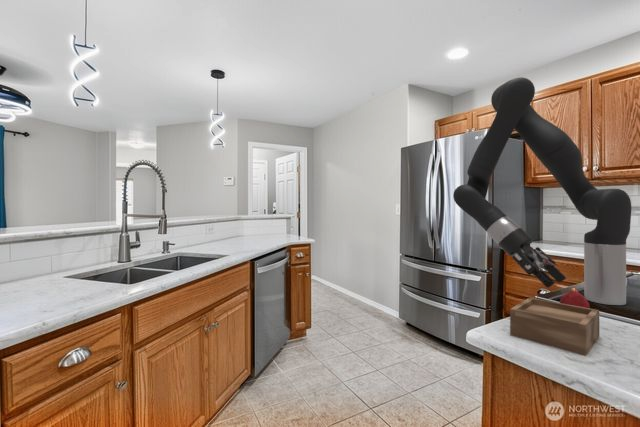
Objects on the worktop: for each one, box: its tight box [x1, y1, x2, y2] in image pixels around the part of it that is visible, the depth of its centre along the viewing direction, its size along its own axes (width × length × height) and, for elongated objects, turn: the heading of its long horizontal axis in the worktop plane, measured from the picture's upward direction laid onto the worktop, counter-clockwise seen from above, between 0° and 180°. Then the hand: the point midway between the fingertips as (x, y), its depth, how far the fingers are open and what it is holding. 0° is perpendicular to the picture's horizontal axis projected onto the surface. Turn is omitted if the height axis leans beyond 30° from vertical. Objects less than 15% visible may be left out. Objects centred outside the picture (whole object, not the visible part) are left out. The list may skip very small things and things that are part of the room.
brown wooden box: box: [509, 297, 600, 357], centre depth 68 cm, size 13×13×6 cm
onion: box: [559, 287, 591, 309], centre depth 78 cm, size 6×6×8 cm
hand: (557, 283), depth 80 cm, fingers open, 8 cm apart
